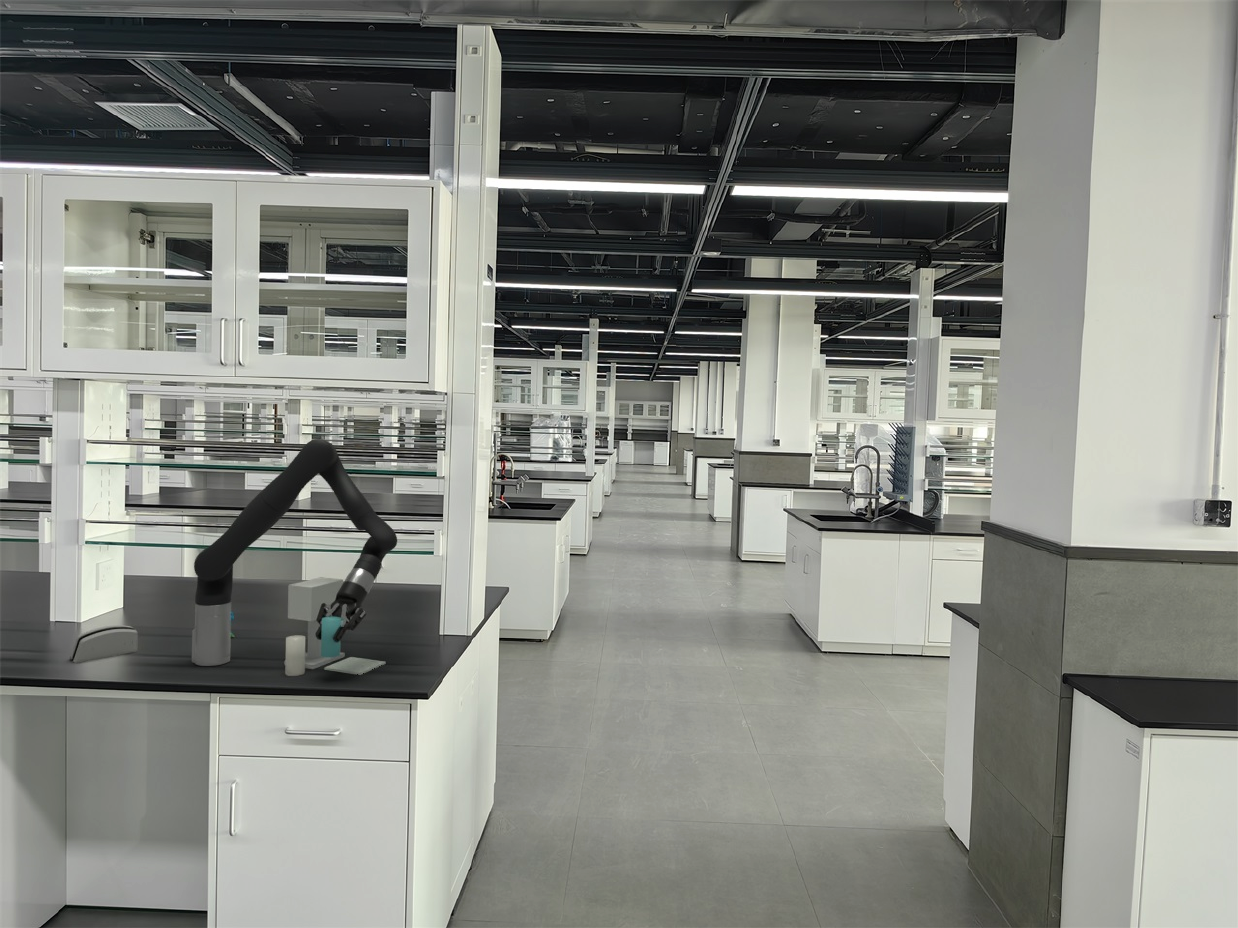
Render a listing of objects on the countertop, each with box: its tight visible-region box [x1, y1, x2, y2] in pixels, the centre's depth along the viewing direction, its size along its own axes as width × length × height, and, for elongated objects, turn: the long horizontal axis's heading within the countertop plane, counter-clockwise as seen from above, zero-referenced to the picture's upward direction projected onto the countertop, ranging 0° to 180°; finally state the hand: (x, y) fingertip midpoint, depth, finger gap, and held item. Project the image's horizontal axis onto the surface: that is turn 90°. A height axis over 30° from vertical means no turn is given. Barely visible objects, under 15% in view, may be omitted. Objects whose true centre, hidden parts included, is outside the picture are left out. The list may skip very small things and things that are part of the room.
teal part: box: [321, 616, 342, 657], centre depth 222 cm, size 5×5×10 cm
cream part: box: [284, 634, 306, 677], centre depth 226 cm, size 5×5×10 cm
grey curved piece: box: [68, 624, 139, 664], centre depth 236 cm, size 17×5×10 cm, turn 144°
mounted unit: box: [283, 576, 346, 670], centre depth 238 cm, size 10×15×23 cm
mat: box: [323, 656, 387, 676], centre depth 234 cm, size 12×12×1 cm
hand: (326, 639), depth 220 cm, fingers closed on teal part, 5 cm apart
